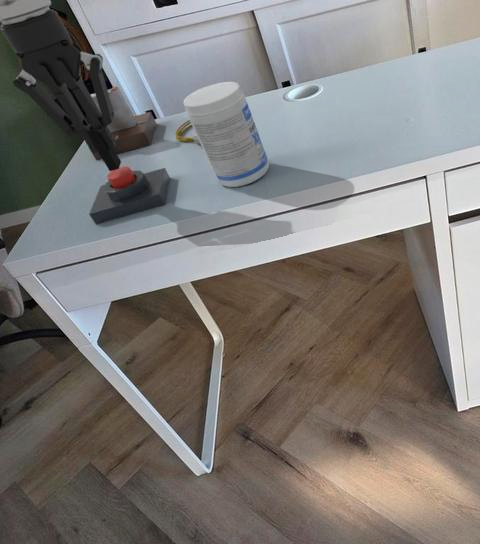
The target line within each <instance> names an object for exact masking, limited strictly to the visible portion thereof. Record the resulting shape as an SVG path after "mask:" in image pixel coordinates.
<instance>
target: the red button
mask: <svg viewBox="0 0 480 544" xmlns="http://www.w3.org/2000/svg"><path fill="white" fill-rule="evenodd" d="M132 171H133V170H132V169H131V167H130V166H121V167H119V169H117V170H113V171H109V173H108V174H107V176H106V179H107V180H108V181H109V182H110V183H111V185H112V186H113V188H121V187H125V186H127V185H129V184H131V183H132V182H133V181H134V180H136V177H135V176H134V174H133V172H132Z"/></svg>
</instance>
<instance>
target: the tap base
mask: <svg viewBox="0 0 480 544" xmlns="http://www.w3.org/2000/svg"><path fill="white" fill-rule="evenodd" d="M133 116H134V118H135V120H136V121H137V124H136V126H134V127H131V128H127V129H123V130H120V131H116V132H112V133H111V134H112V136H113V138H114V139H115V142H116V145H115V147H114V150H115V152H116V154H117V155H119V154H123V153H127V152H129V151H133V150H137V149H141V148H144V147H148V146H151V145H152V142H153V137H154V134H155V131H156V127H157V122H156V119H155V118H154V116H153V113H152V112H151V111H149V112H145V113H141V114H137V115H133ZM88 149H89V151H90V153H91V154H92V156H93V157H94V159H95V160H96V161H97V160H101V159H102V158H101V156H100V154H99V153H98V152H96V153H93V152H92V151H91V150H90V148H89V147H88ZM126 151H127V152H126Z"/></svg>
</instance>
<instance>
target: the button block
mask: <svg viewBox="0 0 480 544" xmlns="http://www.w3.org/2000/svg"><path fill="white" fill-rule="evenodd" d="M132 172H133V174H134V176H135V177H136V180H134V181H133V182H132V183H131V184H129V185H127V186H125V187H121V188H113V186H112V185H111V183H110V182H109V180H108V181H107V182H105V184H102V185H100V187H99V189H98V191H97V194H96V195H95V198H94V201H93V204H92V205H91V209H90V211H89V213H88V215H89V217H90V218H91V219H92V221H93V222H94V224H95V225H99V224H102V223H106V222H111V221H113V220H117V219H120V218H124V217H128V216H131V215H134V214H138V213H141V212H145V211H149V210H152V209H156V208H158V207H162V206H165V205H166V202H167V197H168V192H169V186H170V182H171V181H170V180H171V176H170V174H169V173H168V171H167V169H166V167H162V168H159V169H155V170H152V171H147V172H143V171H141V170H132Z"/></svg>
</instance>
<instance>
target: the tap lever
mask: <svg viewBox="0 0 480 544" xmlns="http://www.w3.org/2000/svg"><path fill="white" fill-rule="evenodd" d="M107 91H108V94H109V98H110V101H111V105H112V108H113V112H114V118H113V121H112V122H111V124H109V125H107V127H108V129H109V130H110V132H111V133H112V132H116V131H120V130H123V129H127V128H131V127H134V126H136V124H137V121H136V120H135V118H134V116H135V115H134V114H133V112H132V110H131V108H130V106H129V104H128V102H127V100H126V98H125V96H124V95H123V93H122V91H121V89H120V87H119V86H117V85H116V86H112V88H109V89H107ZM90 95H91V97H92V99H93V100H94V102H95V104H96V106H97V107H98V109H99V111H100V108H99V104H98V101H97V97H96V94H95V92H94V93H91V94H90ZM100 113H101V111H100Z"/></svg>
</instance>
